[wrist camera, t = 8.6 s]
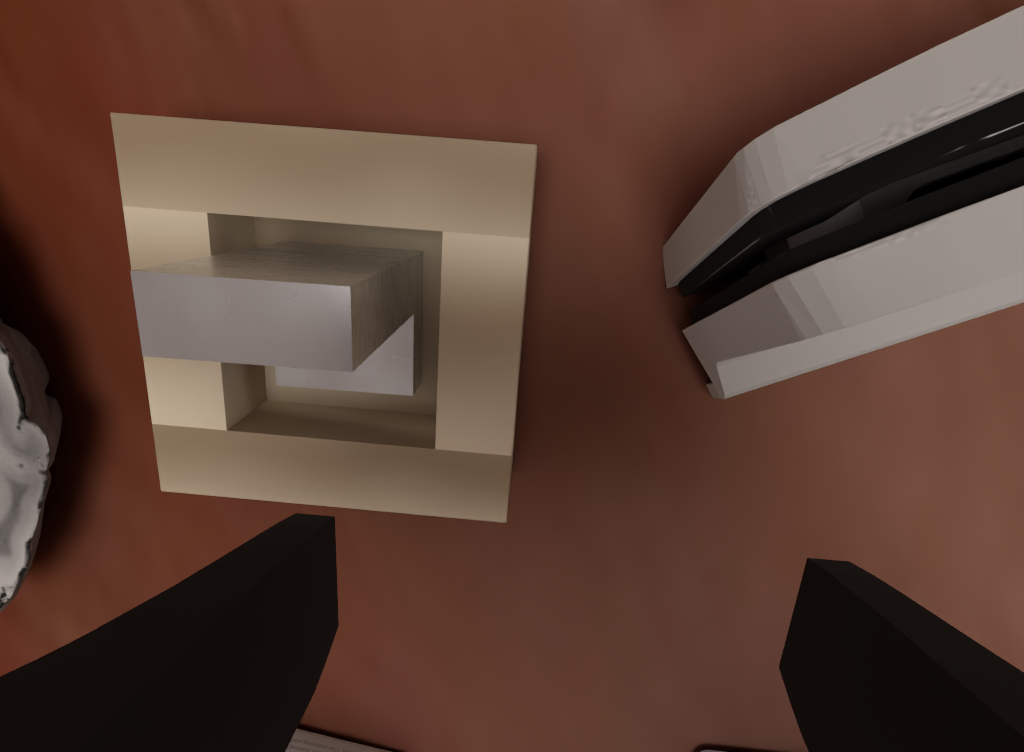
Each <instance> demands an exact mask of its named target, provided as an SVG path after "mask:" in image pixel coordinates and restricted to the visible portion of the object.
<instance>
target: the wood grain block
mask: <svg viewBox="0 0 1024 752" xmlns="http://www.w3.org/2000/svg"><path fill="white" fill-rule="evenodd" d="M130 272H131V279H132V286H133V293H134V299H135V306H136V313H137V320H138V327H139V334H140V341H141V347H142V354H143V356H146V357H159V358H172V359H185V360H199V361H212V362H225V363H238V364H252V365H265V366H275V372H276V385H278V386H291V387H304V388H317V389H330V390H343V391H356V392H369V393H382V394H395V395H409V396H413V395H414V393H415V392H416V390H417V389H418V387H419V386H420V384H421V376H422V301H423V251H420V250H405V249H391V248H376V247H362V246H348V245H333V244H319V243H304V242H290V241H284V242H279V243H274V244H269V245H263V246H258V247H253V248H248V249H242V250H237V251H232V252H227V253H221V254H216V255H211V256H206V257H200V258H195V259H190V260H185V261H179V262H174V263H169V264H164V265H158V266H153V267H148V268H143V269H138V270H132V271H130Z"/></svg>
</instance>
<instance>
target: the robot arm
mask: <svg viewBox="0 0 1024 752" xmlns="http://www.w3.org/2000/svg"><path fill="white" fill-rule="evenodd" d="M337 628H338V598H337V569H336V540H335V517H332V516H321V515H310V514H298V513H296V514H294V515H292V516H290V517H288V518H286V519H284V520H283V521H281V522H279V523H277V524H276V525H274V526H272V527H270V528H269V529H267V530H265V531H264V532H262V533H260V534H259V535H257V536H256V537H254V538H252V539H251V540H249V541H247V542H246V543H244V544H242V545H241V546H239V547H238V548H236V549H234V550H233V551H231V552H229V553H228V554H226V555H224V556H223V557H221V558H219V559H218V560H216V561H214V562H213V563H211V564H209V565H208V566H206V567H204V568H203V569H201V570H199V571H198V572H196V573H194V574H193V575H191V576H189V577H188V578H186V579H184V580H183V581H181V582H179V583H178V584H176V585H174V586H173V587H171V588H169V589H167V590H166V591H164V592H162V593H160V594H158V595H157V596H155V597H153V598H151V599H149V600H148V601H146V602H144V603H142V604H140V605H139V606H137V607H135V608H133V609H131V610H130V611H128V612H126V613H124V614H122V615H120V616H119V617H117V618H115V619H113V620H111V621H110V622H108V623H106V624H104V625H102V626H101V627H99V628H97V629H95V630H93V631H92V632H90V633H88V634H86V635H84V636H82V637H80V638H78V639H76V640H74V641H72V642H71V643H69V644H67V645H65V646H63V647H61V648H59V649H57V650H55V651H53V652H51V653H49V654H47V655H45V656H43V657H41V658H39V659H37V660H35V661H32V662H30V663H28V664H26V665H24V666H22V667H20V668H18V669H16V670H13V671H11V672H9V673H7V674H5V675H3V676H1V677H0V752H285V751H286V749H287V747H288V745H289V743H290V741H291V739H292V737H293V735H294V733H295V731H296V729H297V727H298V725H299V723H300V721H301V719H302V717H303V715H304V713H305V711H306V708H307V706H308V704H309V702H310V700H311V698H312V696H313V694H314V692H315V690H316V687H317V684H318V682H319V679H320V676H321V673H322V671H323V668H324V665H325V663H326V660H327V657H328V654H329V651H330V649H331V646H332V643H333V640H334V637H335V634H336V631H337ZM779 669H780V672H781V675H782V678H783V681H784V684H785V687H786V690H787V694H788V697H789V700H790V703H791V706H792V709H793V712H794V714H795V717H796V720H797V723H798V726H799V728H800V731H801V734H802V737H803V739H804V742H805V744H806V746H807V748H808V750H809V752H1024V673H1023V672H1022V671H1020V670H1019V669H1017V668H1016V667H1014V666H1013V665H1011V664H1009V663H1008V662H1006V661H1005V660H1003V659H1002V658H1000V657H999V656H997V655H996V654H994V653H992V652H991V651H989V650H988V649H986V648H985V647H983V646H982V645H980V644H979V643H977V642H976V641H974V640H973V639H971V638H969V637H968V636H966V635H965V634H963V633H962V632H960V631H959V630H957V629H956V628H954V627H953V626H951V625H950V624H948V623H947V622H945V621H944V620H942V619H941V618H939V617H937V616H936V615H934V614H933V613H931V612H930V611H928V610H927V609H925V608H924V607H922V606H921V605H919V604H918V603H916V602H915V601H913V600H912V599H910V598H908V597H907V596H905V595H904V594H902V593H901V592H899V591H898V590H896V589H894V588H893V587H891V586H890V585H888V584H887V583H885V582H883V581H882V580H880V579H878V578H877V577H875V576H874V575H872V574H870V573H868V572H867V571H865V570H863V569H862V568H860V567H858V566H856V565H854V564H852V563H850V562H848V561H836V560H825V559H813V558H807V561H806V565H805V569H804V573H803V577H802V581H801V584H800V588H799V592H798V596H797V600H796V604H795V607H794V611H793V615H792V619H791V623H790V627H789V630H788V634H787V638H786V642H785V646H784V649H783V653H782V657H781V661H780V665H779ZM700 752H725V751H715V750H703V751H700Z"/></svg>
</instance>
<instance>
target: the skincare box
mask: <svg viewBox="0 0 1024 752" xmlns="http://www.w3.org/2000/svg"><path fill="white" fill-rule="evenodd" d="M285 752H391V751H387V750H383V749H379V748H374V747H370V746H366V745H362V744H358V743H354V742H350V741H346V740H342V739H337V738H333V737H329V736H325V735H321V734H317V733H313V732H309V731H305V730H301V729H296V731H295V733H294V735H293V737H292V739H291V741H290V743H289V745H288V747H287V749H286V751H285Z"/></svg>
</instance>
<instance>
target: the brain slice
mask: <svg viewBox="0 0 1024 752" xmlns="http://www.w3.org/2000/svg"><path fill="white" fill-rule="evenodd" d="M48 382H49V374H48V371H47V369H46V366H45V364H44V362H43V360H42V358H41V356H40V354H39V352H38V350H37V349H36V348H35V347H34V346H33V345H32V344H31V343H30V342H29V340H28V339H27V338H26V337H25V336H24V335H23V334H22V333H21V332H19V331H17V330H15V329H13V328H11V327H9V326H7V325H5V324H3V322H2V320H1V317H0V612H1V611H2V610H3V609H5V608H6V607H7V606H8V604H9V603H10V602H11V601H12V600H13V599H14V598H15V597H16V595H17V593H18V591H19V589H20V587H21V585H22V583H23V581H24V579H25V577H26V575H27V573H28V571H29V569H30V568H31V566H32V562H33V559H34V555H35V552H36V548H37V545H38V541H39V538H40V533H41V526H42V519H43V512H44V503H45V499H46V495H47V492H48V489H49V486H50V482H51V474H50V472H49V468H50V466H51V465H52V463H53V462H54V459H55V455H56V450H57V446H58V442H59V437H60V432H61V425H62V417H63V416H62V411H61V409H60V406H59V404H58V402H57V400H56V398H52V397H49V396H48V395H47V394H45V389H46V387H47V384H48Z"/></svg>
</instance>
